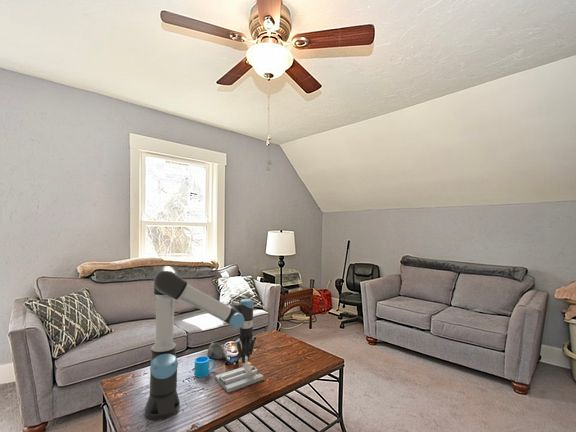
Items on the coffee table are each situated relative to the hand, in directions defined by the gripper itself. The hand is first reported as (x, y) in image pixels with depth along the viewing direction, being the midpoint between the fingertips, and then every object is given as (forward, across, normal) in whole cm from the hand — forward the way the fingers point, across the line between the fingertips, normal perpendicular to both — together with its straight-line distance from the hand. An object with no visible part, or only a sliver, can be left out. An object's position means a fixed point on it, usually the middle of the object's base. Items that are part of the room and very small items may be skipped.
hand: (245, 368), depth 166 cm
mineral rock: (+6, -3, +31) cm, 32 cm away
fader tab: (+3, +2, 0) cm, 4 cm away
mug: (+6, -17, +18) cm, 25 cm away
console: (+5, -4, 0) cm, 6 cm away
